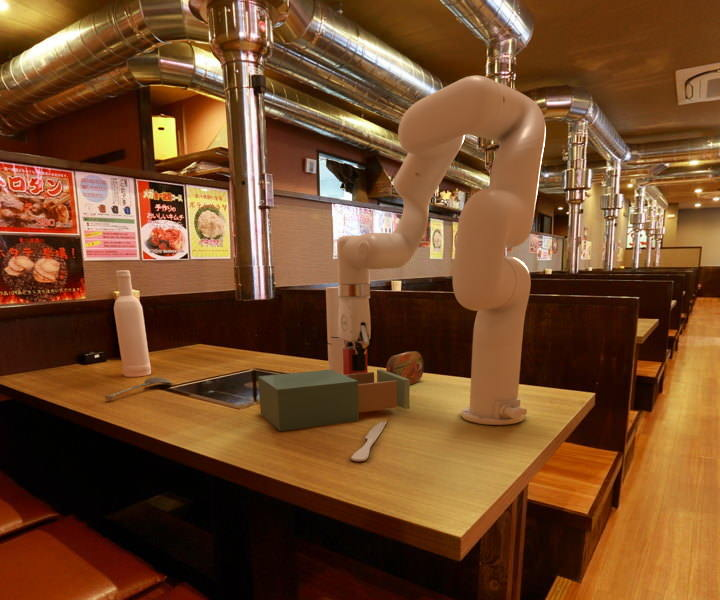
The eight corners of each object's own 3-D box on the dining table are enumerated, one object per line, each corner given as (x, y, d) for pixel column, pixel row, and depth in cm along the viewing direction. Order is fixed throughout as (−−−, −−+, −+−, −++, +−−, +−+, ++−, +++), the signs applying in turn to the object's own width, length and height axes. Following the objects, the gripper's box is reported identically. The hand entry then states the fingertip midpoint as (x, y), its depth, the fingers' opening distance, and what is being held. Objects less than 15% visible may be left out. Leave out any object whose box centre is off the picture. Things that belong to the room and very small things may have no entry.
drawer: (386, 395, 132) (386, 368, 130) (414, 408, 120) (414, 378, 118) (319, 403, 125) (318, 375, 123) (342, 417, 113) (341, 386, 111)
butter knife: (347, 458, 90) (365, 459, 90) (377, 420, 113) (391, 420, 112) (347, 461, 91) (365, 462, 90) (377, 422, 113) (391, 422, 112)
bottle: (145, 377, 164) (130, 270, 155) (119, 377, 164) (102, 270, 155) (155, 372, 172) (141, 270, 162) (130, 372, 172) (115, 270, 162)
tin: (394, 390, 141) (394, 357, 139) (383, 388, 143) (383, 356, 141) (424, 380, 153) (425, 349, 150) (414, 379, 155) (415, 348, 152)
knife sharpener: (367, 387, 137) (367, 346, 134) (349, 389, 135) (348, 348, 132) (362, 384, 140) (361, 345, 137) (343, 386, 138) (342, 346, 135)
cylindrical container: (345, 386, 147) (343, 288, 139) (323, 383, 150) (320, 287, 142) (360, 381, 152) (358, 286, 144) (338, 379, 156) (336, 286, 148)
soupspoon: (178, 387, 153) (159, 386, 155) (176, 374, 152) (157, 374, 154) (118, 402, 133) (97, 401, 135) (115, 388, 132) (94, 387, 135)
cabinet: (332, 405, 127) (331, 369, 125) (358, 420, 114) (358, 380, 112) (260, 414, 121) (257, 376, 118) (279, 431, 108) (277, 389, 105)
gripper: (326, 291, 136) (329, 365, 142) (353, 293, 122) (355, 376, 128) (354, 290, 139) (356, 363, 145) (384, 292, 125) (384, 373, 131)
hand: (355, 368), depth 136 cm, fingers closed on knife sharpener, 3 cm apart
